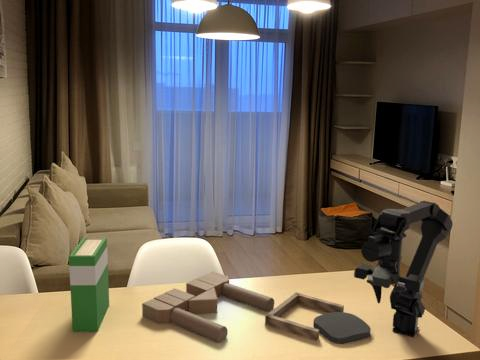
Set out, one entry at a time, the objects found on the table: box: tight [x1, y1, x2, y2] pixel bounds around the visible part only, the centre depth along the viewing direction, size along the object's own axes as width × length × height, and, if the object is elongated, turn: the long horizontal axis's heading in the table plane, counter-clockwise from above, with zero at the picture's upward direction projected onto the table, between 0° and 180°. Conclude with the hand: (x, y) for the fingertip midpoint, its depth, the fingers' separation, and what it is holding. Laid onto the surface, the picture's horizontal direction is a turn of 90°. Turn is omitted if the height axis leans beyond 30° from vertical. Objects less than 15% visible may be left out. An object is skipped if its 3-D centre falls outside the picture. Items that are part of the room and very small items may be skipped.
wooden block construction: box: [141, 271, 275, 343], centre depth 165 cm, size 35×6×29 cm
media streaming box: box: [312, 311, 372, 345], centre depth 154 cm, size 15×15×3 cm
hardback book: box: [68, 236, 110, 333], centre depth 157 cm, size 18×7×24 cm, turn 3°
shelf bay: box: [264, 292, 345, 342], centre depth 161 cm, size 18×21×3 cm
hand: (386, 304), depth 145 cm, fingers open, 4 cm apart
